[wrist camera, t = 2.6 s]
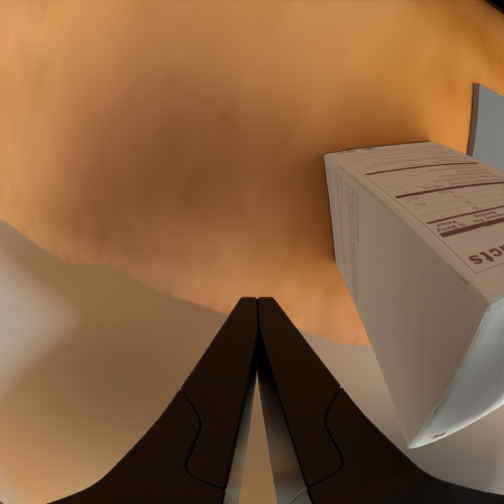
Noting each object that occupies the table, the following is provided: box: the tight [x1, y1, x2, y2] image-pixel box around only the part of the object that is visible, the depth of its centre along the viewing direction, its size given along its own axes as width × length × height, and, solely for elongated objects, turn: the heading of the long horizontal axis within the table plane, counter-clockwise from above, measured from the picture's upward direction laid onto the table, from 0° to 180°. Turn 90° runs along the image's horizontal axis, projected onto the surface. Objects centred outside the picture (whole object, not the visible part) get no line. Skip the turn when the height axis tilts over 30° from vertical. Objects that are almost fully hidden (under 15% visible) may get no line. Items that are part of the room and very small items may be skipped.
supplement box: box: [324, 142, 504, 448], centre depth 10 cm, size 7×7×13 cm
